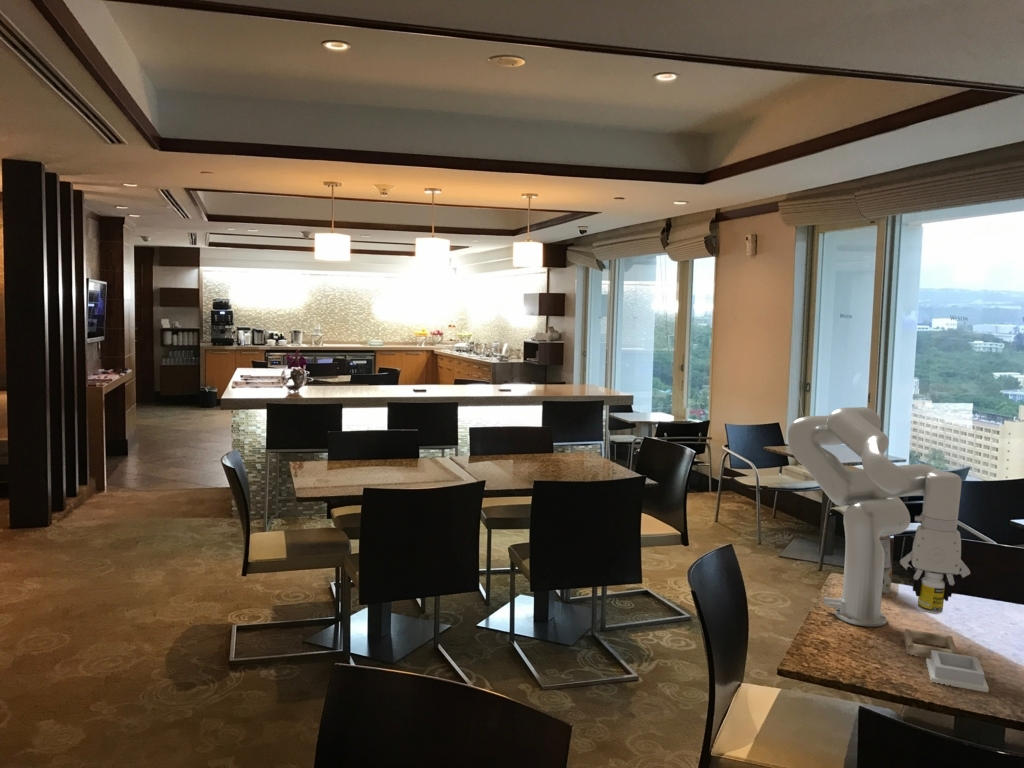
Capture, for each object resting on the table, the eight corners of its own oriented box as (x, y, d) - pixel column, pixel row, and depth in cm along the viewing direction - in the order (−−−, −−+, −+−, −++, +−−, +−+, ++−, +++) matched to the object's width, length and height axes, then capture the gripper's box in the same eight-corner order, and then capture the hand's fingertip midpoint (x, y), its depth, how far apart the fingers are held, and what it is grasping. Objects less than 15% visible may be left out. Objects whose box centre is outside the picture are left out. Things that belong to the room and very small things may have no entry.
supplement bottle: (933, 616, 189) (937, 576, 188) (912, 607, 194) (916, 568, 193) (947, 612, 192) (951, 573, 191) (926, 604, 197) (930, 565, 196)
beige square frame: (907, 654, 190) (908, 644, 190) (904, 638, 200) (904, 628, 200) (956, 663, 187) (957, 652, 186) (951, 646, 196) (951, 636, 196)
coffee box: (891, 593, 233) (895, 539, 231) (870, 593, 232) (874, 539, 231) (874, 582, 242) (878, 530, 240) (854, 582, 241) (858, 530, 240)
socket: (930, 682, 176) (932, 666, 176) (925, 662, 186) (927, 647, 186) (988, 692, 172) (989, 676, 172) (979, 671, 182) (981, 656, 182)
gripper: (900, 522, 190) (893, 595, 192) (982, 533, 184) (974, 608, 186) (898, 514, 197) (891, 585, 199) (977, 524, 191) (969, 597, 193)
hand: (931, 596), depth 193 cm, fingers closed on supplement bottle, 5 cm apart
